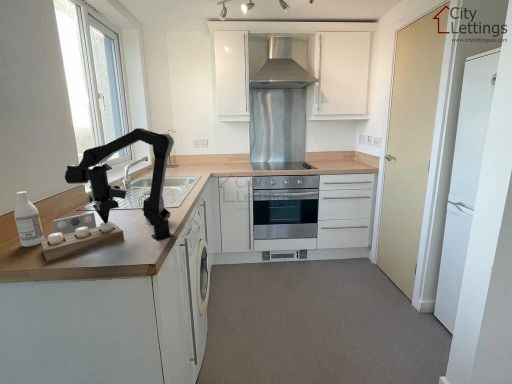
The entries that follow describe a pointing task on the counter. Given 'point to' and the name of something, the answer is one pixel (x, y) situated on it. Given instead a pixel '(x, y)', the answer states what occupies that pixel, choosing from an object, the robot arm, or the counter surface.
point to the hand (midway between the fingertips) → (106, 222)
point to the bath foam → (27, 221)
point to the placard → (74, 223)
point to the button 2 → (106, 226)
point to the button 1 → (55, 238)
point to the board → (81, 242)
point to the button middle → (82, 232)
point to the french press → (146, 192)
